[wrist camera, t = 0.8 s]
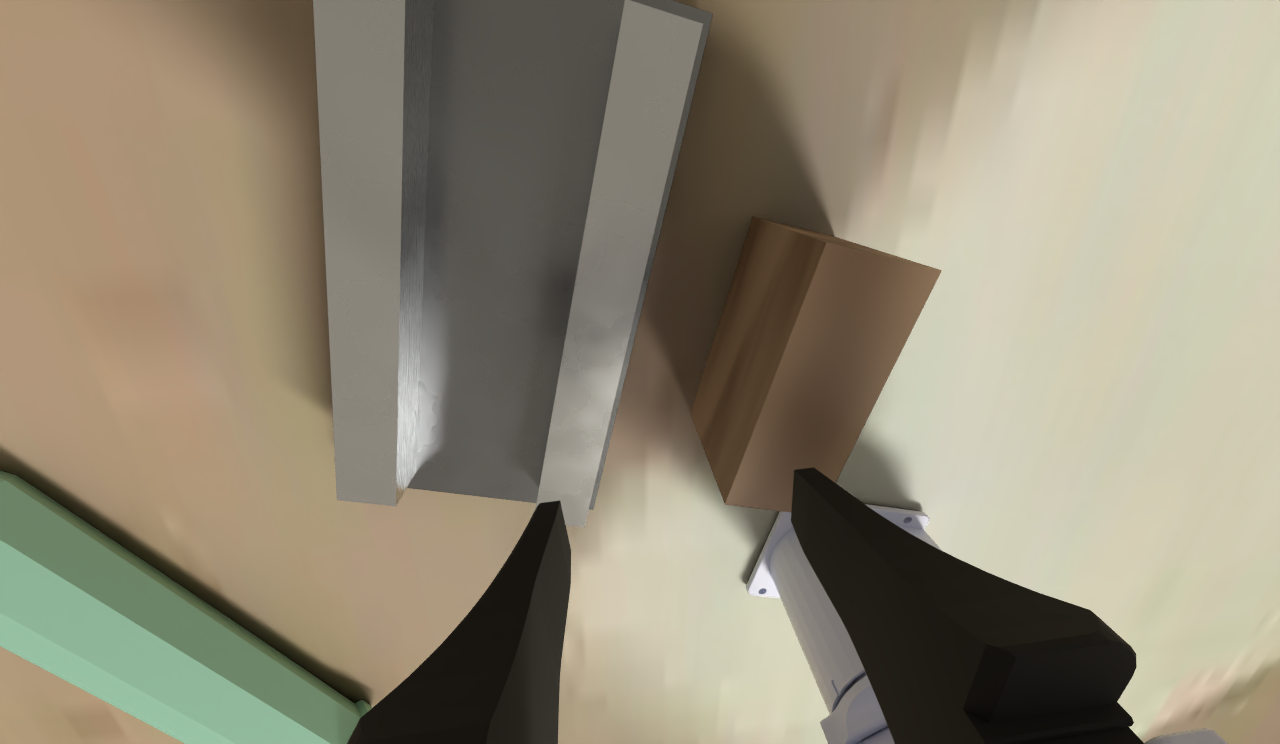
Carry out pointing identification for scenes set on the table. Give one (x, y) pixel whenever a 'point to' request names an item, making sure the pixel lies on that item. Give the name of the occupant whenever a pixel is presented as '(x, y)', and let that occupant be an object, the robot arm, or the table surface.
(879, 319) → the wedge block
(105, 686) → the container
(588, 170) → the slot base
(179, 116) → the table surface
